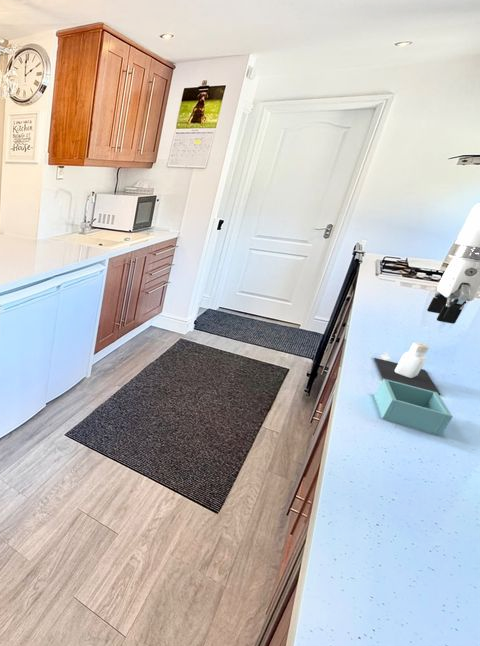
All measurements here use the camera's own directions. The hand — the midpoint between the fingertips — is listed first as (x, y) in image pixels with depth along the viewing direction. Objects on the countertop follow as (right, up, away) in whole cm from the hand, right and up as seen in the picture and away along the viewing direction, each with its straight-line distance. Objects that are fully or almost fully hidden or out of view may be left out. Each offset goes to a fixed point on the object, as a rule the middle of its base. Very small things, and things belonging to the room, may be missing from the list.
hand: (439, 317), depth 107 cm
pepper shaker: (-1, -17, +8) cm, 18 cm away
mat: (-1, -17, +8) cm, 19 cm away
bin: (-21, -24, -11) cm, 33 cm away
